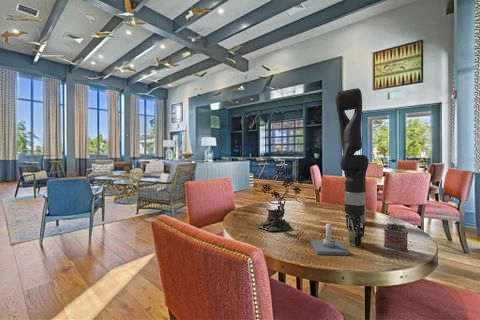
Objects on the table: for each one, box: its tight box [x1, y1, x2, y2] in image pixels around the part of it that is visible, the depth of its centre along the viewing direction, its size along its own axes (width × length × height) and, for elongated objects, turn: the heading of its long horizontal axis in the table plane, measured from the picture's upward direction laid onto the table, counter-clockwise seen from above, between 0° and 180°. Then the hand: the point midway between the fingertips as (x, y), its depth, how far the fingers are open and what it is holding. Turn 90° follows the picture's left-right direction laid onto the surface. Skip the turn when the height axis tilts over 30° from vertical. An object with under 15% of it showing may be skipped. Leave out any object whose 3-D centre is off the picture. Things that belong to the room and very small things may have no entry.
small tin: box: [383, 222, 409, 253], centre depth 92 cm, size 8×3×10 cm, turn 45°
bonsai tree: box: [257, 166, 306, 232], centre depth 125 cm, size 35×24×32 cm
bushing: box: [346, 228, 363, 248], centre depth 97 cm, size 5×5×6 cm
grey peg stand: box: [309, 223, 351, 256], centre depth 93 cm, size 12×12×10 cm
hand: (354, 242), depth 97 cm, fingers closed on bushing, 5 cm apart
